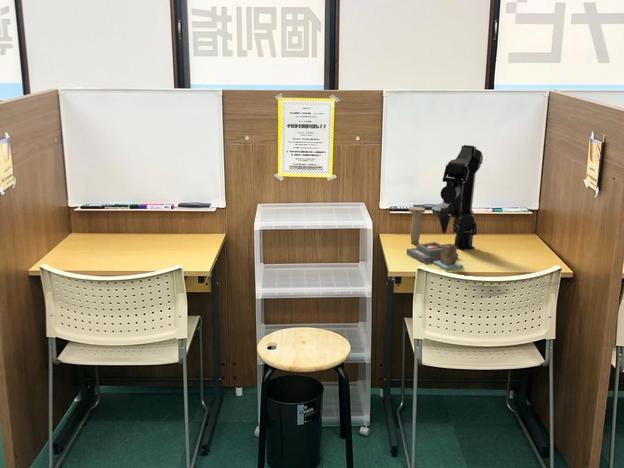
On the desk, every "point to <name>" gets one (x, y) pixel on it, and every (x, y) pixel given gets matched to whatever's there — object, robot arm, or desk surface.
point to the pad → (447, 267)
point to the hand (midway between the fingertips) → (451, 236)
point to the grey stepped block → (426, 252)
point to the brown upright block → (448, 254)
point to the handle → (416, 223)
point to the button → (432, 247)
